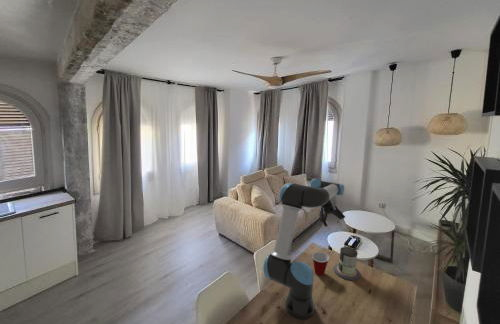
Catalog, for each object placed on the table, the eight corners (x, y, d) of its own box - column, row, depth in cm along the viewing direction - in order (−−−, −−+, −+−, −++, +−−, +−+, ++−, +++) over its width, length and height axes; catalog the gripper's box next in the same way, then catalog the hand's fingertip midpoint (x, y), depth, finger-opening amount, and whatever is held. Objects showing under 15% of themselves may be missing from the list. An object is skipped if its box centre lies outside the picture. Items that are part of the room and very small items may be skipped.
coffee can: (334, 268, 155) (337, 249, 153) (344, 264, 161) (346, 245, 158) (348, 277, 147) (351, 257, 144) (358, 272, 152) (361, 252, 150)
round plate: (335, 278, 148) (336, 276, 148) (332, 263, 163) (332, 261, 163) (362, 282, 145) (363, 280, 145) (356, 266, 161) (356, 265, 160)
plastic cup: (307, 268, 157) (309, 252, 155) (323, 267, 159) (324, 251, 157) (314, 279, 147) (316, 261, 144) (330, 277, 148) (332, 260, 146)
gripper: (335, 202, 178) (348, 229, 166) (308, 205, 169) (319, 233, 157) (341, 197, 172) (355, 225, 160) (313, 200, 163) (325, 229, 151)
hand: (337, 229), depth 159 cm, fingers open, 13 cm apart
